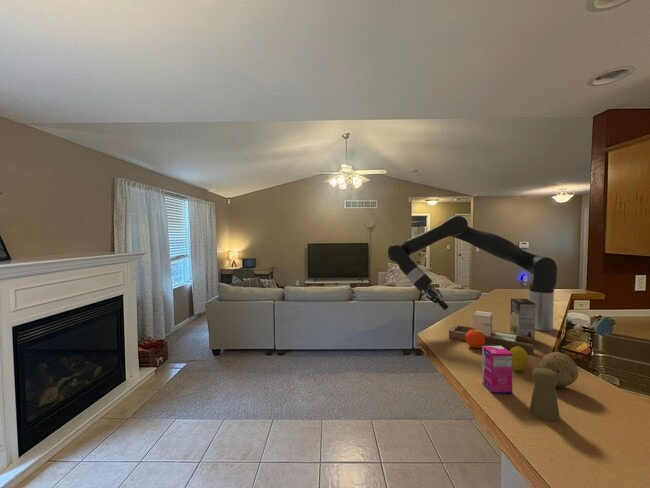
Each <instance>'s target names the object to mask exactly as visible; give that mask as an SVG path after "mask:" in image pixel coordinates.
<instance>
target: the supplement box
mask: <svg viewBox="0 0 650 488" xmlns="http://www.w3.org/2000/svg"><path fill="white" fill-rule="evenodd" d="M481 350H482V355H481V356H482V357H481V359H482V364H481V367H482V368H481V369H482V371H481V372H482V373H481V374H482V375H481V376H482V377H481V380H482V385H483V386H485V388H487V390H489V392H490V393H491V394H495V395H497V394H498V395H500V394H501V395H504V394H505V395H506V394H507V395H513V367H512V353H511V352H509V351H510V350H509V349H505V348H504V347H502V346H489V345H483V346H482V347H481Z"/></svg>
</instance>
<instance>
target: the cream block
mask: <svg viewBox="0 0 650 488" xmlns="http://www.w3.org/2000/svg"><path fill="white" fill-rule="evenodd" d="M473 327H474V329H476V330H480V331H482V332H484V333H485V334H486V335H487V336H490V335H491V333H492V331H493V313H492V312H488V311H487V312H486V311H479V310H476V311H475V312H474V313H473ZM485 334H484V335H485Z"/></svg>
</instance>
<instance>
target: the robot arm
mask: <svg viewBox="0 0 650 488" xmlns="http://www.w3.org/2000/svg"><path fill="white" fill-rule="evenodd" d="M447 237H452V238H455V239H458V240H461V241H464V242H466V243H467V244H470V245H471V246H474V247H476V248H478V249H480V250H482V251H484V252H486V253H488V254H489V255H491V256H493V257H497V258H499V259H501V260H504V261H507V262H510V263H512V264H515V265H517V266H518V267H520V268H522V269H524V270H525V271H526V272H528V273H530V274H532V275H533V279H532V283H530V284H529V288H528V293H529V294H528V300H530V301H532V302H533V303H535V304H536V310H535V331H536V330H537V331H541V332H551V331H554V302H555V299H554V298H555V297H554V295H555V288H556V286H557V278H558V277H557V276H558V265H557V263H556V261H555V259H553V258H552V257H547V256H542V255H537V254H533V253H531V252H528V251H525V250H523V249H522V248H520V247H518V246H517V245H516V244H515V243H513V242H512V241H510V240H508V239H506V238H504V237H502V236H500V235H497V234H495V233H491V232H488V231H483V230H478V229H476V228H475V229H474V228H473V227H471V226H469V225H468V220H467V219H466V218H465V217H464V216H462V215H453V216H451V217H449V218H447V220H445V221H444V222H442V223H441V224H440V225H438V226H436V227H434V228H431V229H430V230H427V231H425V232H424V231H423V232H422V233H419V234H416V235H415V236H413V237H410V238H408V239H407V240H405V241H404V242H403V244H397V243H394V244H391V245H390V246H389V247H388V249H387V257H388V259H389V261H391V262H393V263H396V264H397V265H398V267H399V269H400V271H401V272H402V273H403V274H404V275H405V276H406V278H407V279H408V280H409V281H410V283H412V285H413V286H414V287H415V289H417V290H418V291H419V292H423V291H424V293H425V298H427V299H428V300H430V301H431V302H432V303H434V304H438V305H439V306H440V307H441V308H442V310H444V311H446V310H447V309H449V308H450V307H449V305H448V304H447V303H446V302H445V300H444V296H443V295H442V292H441V291H440V289H439V288H436V287H435V286H433V285H432V284H433V280H432V279H431V278H430V277H429V276H428V274H427V273H426V272H425V271H424V270H423V269H422V268H421V267H419V266H418V264H416V263H415V261H414V260H412V259H411V257H410V255H412V254H414V253H417V252H419V251H421V250H423V249H425V248H427V247H430V246H431V245H433V244H435V243H437V242H440V241H441V240H443V239H446V238H447Z"/></svg>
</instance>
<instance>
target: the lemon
mask: <svg viewBox="0 0 650 488" xmlns="http://www.w3.org/2000/svg"><path fill="white" fill-rule="evenodd" d="M508 351H509V352H511V353H512V368H514V369H515V370H516V371H518V372H519V371H521V370H525V369H526V368H527V367H528V366H529V361H530V358H529V355H528V354H529V353H527V352H526V351H525V350H524V349H523V348H521V347H520V346H517V347H513V348H511V350H510V349H509V350H508Z"/></svg>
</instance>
